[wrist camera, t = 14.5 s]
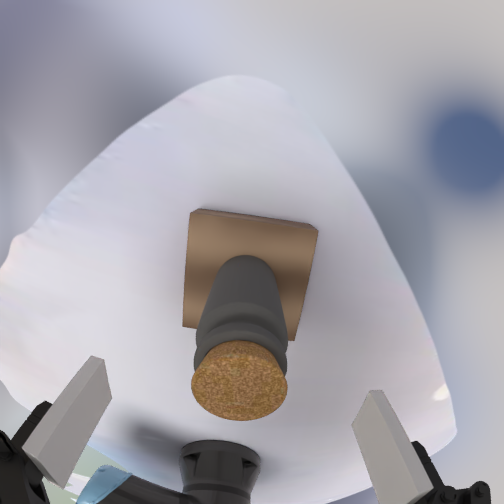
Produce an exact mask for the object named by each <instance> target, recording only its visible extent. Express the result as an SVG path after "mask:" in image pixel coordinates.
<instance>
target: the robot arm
mask: <svg viewBox="0 0 504 504" xmlns="http://www.w3.org/2000/svg"><path fill="white" fill-rule="evenodd" d="M111 399H112V395H111V391H110V387H109V382H108V377H107V372H106V367H105V362H104V359H101V358H98V357H95V356H90V358H89V359H88V360H87V361H86V362H85V364H84V365H83V366H82V367H81V369H80V370H79V371H78V372H77V374H76V375H75V376H74V377H73V379H72V380H71V381H70V382H69V384H68V385H67V386H66V388H65V389H64V390H63V391H62V393H61V394H60V395H59V397H58V398H57V399H56V401H55V402H54V403H53V404H51V403H49V402H47V401H44V402H42V403H41V404H39V405H37V406H36V408H35V409H34V410H33V411H32V413H31V415H29V417H28V418H27V420H25V422H24V423H23V424H22V426H21V427H20V428H19V430H18V431H17V433H16V434H15V435H14V437H13V438H12V440H10V439H9V438H8V436H7V435H6V434H5V433H4V432H3V431H1V430H0V504H50V502H49V499H48V496H47V493H46V490H45V487H44V484H43V482H42V478H43V476H44V477H45V478H46V479H47V480H48V481H49V482H50V483H52V484H54V485H56V486H57V487H59V488H61V489H64V487H65V485H66V483H67V481H68V479H69V477H70V475H71V473H72V471H73V469H74V467H75V465H76V463H77V461H78V459H79V457H80V455H81V454H82V452H83V450H84V448H85V446H86V444H87V442H88V440H89V439H90V437H91V435H92V433H93V431H94V429H95V427H96V426H97V424H98V422H99V420H100V418H101V417H102V415H103V413H104V411H105V409H106V408H107V406H108V404H109V402H110V401H111ZM352 428H353V431H354V434H355V436H356V439H357V442H358V445H359V447H360V450H361V453H362V456H363V459H364V461H365V464H366V467H367V470H368V473H369V476H370V479H371V482H372V484H373V487H374V490H375V493H376V496H377V499H378V502H379V504H491V496H490V488H489V486H488V484H487V483H485V482H483V481H478V482H476V483H475V484H473V485H472V486H471V487H470V488H466V489H459V490H456V489H455V488H454V487H451V486H445V485H444V484H443V482H442V480H441V478H440V476H439V474H438V472H437V471H436V469H435V467H434V465H433V463H431V459H430V457H429V456H428V454H427V452H426V450H425V448H424V447H423V446H422V445H421V444H420V443H419V442H418V441H414V442H410V440H409V438H408V436H407V434H406V432H405V430H404V429H403V427H402V425H401V423H400V421H399V419H398V417H397V416H396V414H395V412H394V410H393V408H392V407H391V405H390V403H389V401H388V399H387V398H386V396H385V394H384V392H383V390H372V391H369V393H368V395H367V397H366V399H365V401H364V403H363V405H362V407H361V409H360V411H359V412H358V414H357V416H356V418H355V420H354V421H353V423H352ZM179 465H180V471H181V476H182V481H183V492H182V493H180V492H177V491H174V490H171V489H168V488H165V487H162V486H159V485H157V484H154V483H151V482H149V481H146V480H144V479H141V478H139V477H136V476H134V475H132V473H127V472H125V471H122V470H120V469H118V468H115V467H113V466H110V465H104V466H101V467H100V468H98V469H97V471H96V472H95V473H94V475H93V476H92V477H91V478H90V480H89V481H88V483H87V484H86V486H85V487H84V489H83V491H82V492H81V494H80V496H79V497H78V499H77V502H76V504H250V495H251V492H252V489H253V487H254V485H255V482H256V480H257V478H258V475H259V473H260V458H259V456H258V455H257V454H256V453H255V452H254V451H252V450H250V449H249V448H247V447H244V446H241V445H238V444H235V443H230V442H224V441H212V440H209V441H198V442H193V443H190V444H188V445H186V446H185V447H184V448H183V449H182V450H181V453H180V458H179Z"/></svg>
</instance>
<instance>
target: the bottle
mask: <svg viewBox="0 0 504 504" xmlns="http://www.w3.org/2000/svg"><path fill="white" fill-rule="evenodd" d="M196 345H197V349H196V352H195V356H194V370H195V373H194V375H193V377H192V381H191V389H192V393H193V395H194V397H195V399H196V401H197V402H198V403H199V404H200V405H201V406H202V407H203V408H204V409H205V410H207V411H208V412H210V413H212V414H214V415H216V416H218V417H221V418H224V419H229V420H237V421H248V420H254V419H258V418H262V417H264V416H267V415H269V414H270V413H272V412H274V411H275V410H276V409H277V408H279V407H280V405H281V404H282V403H283V401H284V400H285V397H286V395H287V381H286V379H285V375H286V372H287V358H286V354H285V353H286V350H287V346H288V333H287V327H286V323H285V318H284V313H283V309H282V304H281V300H280V296H279V292H278V287H277V283H276V279H275V276H274V273H273V271H272V269H271V268H270V267H269V265H268V264H267V263H266V262H264V261H263V260H261V259H260V258H257V257H255V256H251V255H240V256H236V257H233V258H231V259H229V260H228V261H226V262H225V263H224V264H223V265H222V266H221V267H220V269H219V271H218V272H217V275H216V277H215V280H214V282H213V285H212V287H211V290H210V293H209V295H208V298H207V301H206V304H205V306H204V309H203V312H202V315H201V318H200V321H199V324H198V327H197V332H196Z"/></svg>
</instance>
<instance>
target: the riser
mask: <svg viewBox="0 0 504 504" xmlns="http://www.w3.org/2000/svg"><path fill="white" fill-rule="evenodd" d="M317 236H318V230H317V229H315V228H314V227H313V226H312V225H310V224H305V223H299V222H293V221H286V220H280V219H273V218H266V217H259V216H252V215H245V214H237V213H230V212H222V211H214V210H206V209H197V210H195V211H193V212H191V213H190V219H189V230H188V241H187V253H186V266H185V282H184V300H183V326H182V327H188V328H194V329H197V327H198V324H199V321H200V318H201V315H202V312H203V309H204V306H205V304H206V301H207V298H208V295H209V293H210V290H211V287H212V285H213V282H214V280H215V277H216V275H217V272H218V271H219V269H220V267H221V266H222V265H223V264H224V263H225V262H226V261H228V260H229V259H231V258H233V257H236V256H240V255H251V256H255V257H257V258H260V259H261V260H263V261H264V262H266V263H267V264H268V265H269V267H270V268H271V269H272V271H273V273H274V276H275V279H276V283H277V287H278V292H279V296H280V300H281V304H282V309H283V313H284V318H285V323H286V327H287V333H288V341H294V340H295V336H296V332H297V328H298V324H299V320H300V316H301V311H302V307H303V303H304V298H305V294H306V290H307V285H308V280H309V276H310V271H311V266H312V261H313V256H314V251H315V246H316V241H317Z"/></svg>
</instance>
